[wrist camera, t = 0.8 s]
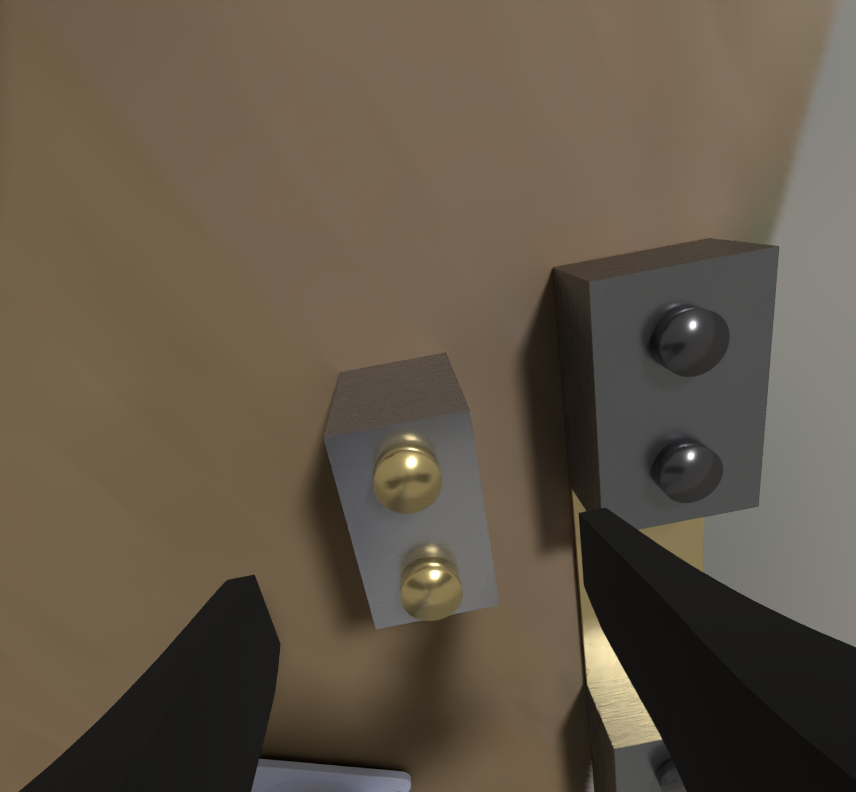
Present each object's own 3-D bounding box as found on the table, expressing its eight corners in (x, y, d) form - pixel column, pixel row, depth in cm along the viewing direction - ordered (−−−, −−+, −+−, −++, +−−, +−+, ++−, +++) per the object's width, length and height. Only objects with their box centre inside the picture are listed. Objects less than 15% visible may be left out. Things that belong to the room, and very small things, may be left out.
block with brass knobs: (471, 505, 19) (504, 622, 14) (377, 523, 19) (375, 647, 14) (445, 351, 17) (473, 420, 11) (340, 371, 17) (320, 449, 11)
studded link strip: (693, 776, 25) (739, 863, 22) (594, 795, 25) (626, 886, 22) (710, 238, 16) (796, 248, 13) (553, 267, 16) (598, 285, 13)
